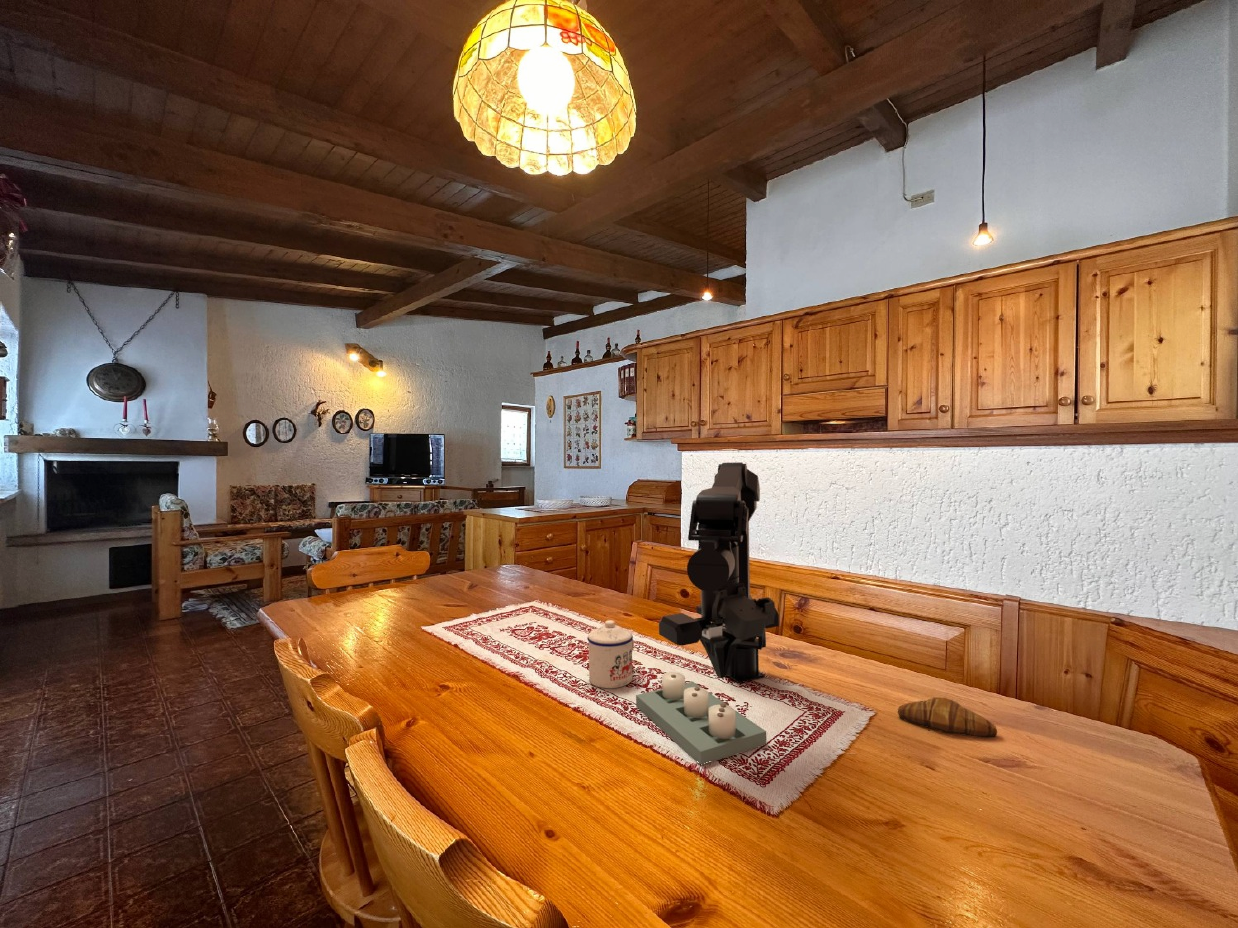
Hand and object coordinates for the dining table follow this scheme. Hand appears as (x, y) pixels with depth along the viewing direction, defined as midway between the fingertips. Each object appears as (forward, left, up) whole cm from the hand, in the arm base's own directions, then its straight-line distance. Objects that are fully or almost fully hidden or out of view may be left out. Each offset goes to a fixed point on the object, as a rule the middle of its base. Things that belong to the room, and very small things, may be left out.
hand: (721, 677), depth 79 cm
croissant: (-35, +12, -11) cm, 38 cm away
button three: (0, 0, -8) cm, 8 cm away
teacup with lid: (+4, -30, -11) cm, 32 cm away
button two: (0, -7, -8) cm, 11 cm away
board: (0, -7, -10) cm, 12 cm away
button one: (0, -14, -8) cm, 16 cm away
